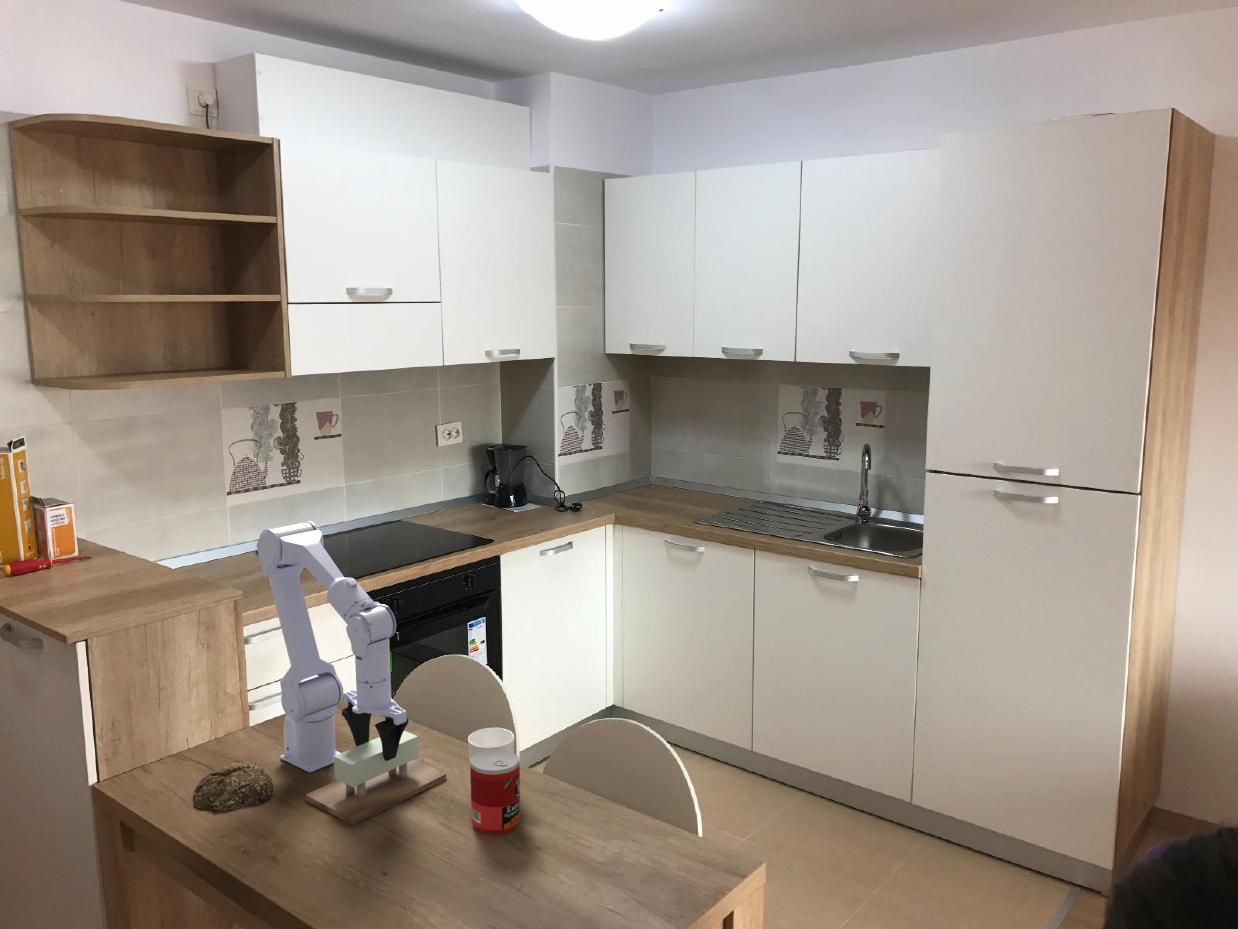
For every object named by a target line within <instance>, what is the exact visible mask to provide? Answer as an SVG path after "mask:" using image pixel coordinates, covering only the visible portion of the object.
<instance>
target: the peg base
mask: <svg viewBox="0 0 1238 929" xmlns="http://www.w3.org/2000/svg"><path fill="white" fill-rule="evenodd" d="M443 780H444V781H445V780H447V774H446V773H444V772H442V771H440V770H438V769H435V768H433V767H431V766H429V765H426V764H424V763H422V762H420V761H417V760H416V759H414V760H412V761H410V762H408V763H405V764H403V765H401V766H399V767H397V768H394V769H392V770H390V771H388V772H386V773H383V774H381V775H379V776H377V777H375V778H373V779H370V780H368V781H366V782H364V783H362V784H359V785H357V786H355V787H351V786H349V785H347V784H345V783H343V782H341V781H339V780H337V779H336V780H335V781H333V782H331V783H328V784H326V785H324V786H322V787H319V788H318V789H315V790H313V791H311V792H308V793H306V794H305V795H304V796H305V801H306V802H308V801H309V802H308V803H309V804H312V805H314V806H316V807H317V808H320V809H321V810H324V811H326V812H327V813H329V814H331V815H333V816H335V817H337V818H338V819H340V820H341V821H342V820H343V821H345V822H346V821H347V823H349V825H351V826H354V825H357V824H359V823H360V821H361V822H363V821H364V819H365V820H367V819H369V818H371V817H373V816H374V815H373V814H375V815H377V814H378V812H379V811H381V812H383V811H386V810H387V809H389V808H391V807H393V806H395V805H398V804H400V803H401V802H403V801H406V800H407V799H409V798H411V797H413V796H415V795H417V794H420V793H422V792H423V791H422V790H424V791H425V789H426V790H427V789H429V787H430V788H431V787H433V786H436V785H437V784H440V783H442V782H443ZM435 784H436V785H435ZM421 791H422V792H421ZM419 792H420V793H419ZM414 794H415V795H414ZM408 797H409V798H408ZM406 798H407V799H406ZM400 801H401V802H400ZM394 804H395V805H394ZM392 805H393V806H392ZM390 806H391V807H390ZM386 808H387V809H386ZM376 813H377V814H376ZM379 813H380V812H379ZM372 815H373V816H372ZM366 818H367V819H366ZM358 822H359V823H358Z"/></svg>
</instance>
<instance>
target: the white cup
mask: <svg viewBox="0 0 1238 929" xmlns="http://www.w3.org/2000/svg"><path fill="white" fill-rule="evenodd" d="M467 744H468V757H469V759H468V760H469V764H470V763H471V758H472V757H473V756H474V755H476V754H477V753H480V752H483V751H487V750H506V751H510V752H512V753H515V734H514V732H512V731H511V730H509V729H506V728H502V727H487V728H485V727H484V728H481V729H477V730H475V731H473V732H472V733H470V734H469V735H468V738H467Z"/></svg>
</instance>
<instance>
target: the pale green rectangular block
mask: <svg viewBox="0 0 1238 929" xmlns="http://www.w3.org/2000/svg"><path fill="white" fill-rule="evenodd" d="M419 757H420V756H419V736H418V735H416V734H414V733H412V732H409V731H406V730H404V731H403V734H402V736H401V739H400V742H399V746H398V750H397V755H396V757H395V758H393V759H391V760H389V761H386V760H384V757H383V752H382V743H381V739H380V736H379V737H376V738H373V739H372V740H369V742H367V743H364V744H362V745H359V746H357V747H356V746H355V747H353V748H350V749H348V750H344V751H343V752H340V754H338V755H336V756H334V763H333V767H334V768H333V769H334V770H333V771H334V773H333V774H334V779H335V780H336V781H337V780H339V781H341V782H343V783H345V784H347V785H349V786H351V787H355V786H357V785H359V784H362V783H364V782H366V781H368V780H370V779H373V778H375V777H377V776H379V775H381V774H383V773H386V772H388V771H390V770H392V769H394V768H397V767H399V766H401V765H403V764H405V763H408V762H410V761H412V760H416V759H418V758H419Z"/></svg>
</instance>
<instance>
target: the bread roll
mask: <svg viewBox="0 0 1238 929" xmlns="http://www.w3.org/2000/svg"><path fill="white" fill-rule="evenodd" d="M273 789H274V782H273V779H272V778H271V776H270V775H269V774H268V772H267V771H266V770H265V769H264V768H263V767H261V766H260V764H257V763H256V762H251V763H250V762H239V761H238V762H234V763H229V764H227V765H224V766H223V767H220V768H216V769H215V770H213V771H211V772H209V773H208V774H206V775H204V776H203V777H202V779H200V781H199V782H198V783H197V784H196V786H195V789H194V791H193V792H194V798H195V800H194V807H195V808H197V809H198V810H205V811H206V810H215V811H218V812H224V811H226V812H227V811H231V810H232V811H234V810H237V809H241V808H243V807H248V806H256V805H259V804H261V803H263V802H266V801H267V800H269V799H270V798H271V797H272V795H273Z"/></svg>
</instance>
